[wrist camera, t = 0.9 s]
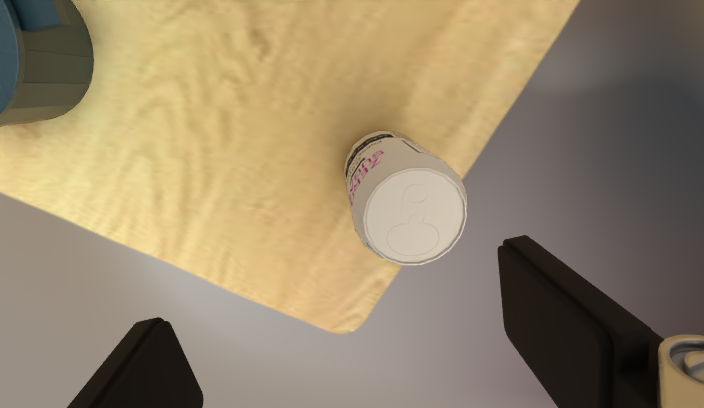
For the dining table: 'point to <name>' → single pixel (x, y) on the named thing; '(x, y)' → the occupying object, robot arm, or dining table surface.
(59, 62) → the pot
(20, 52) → the pot lid
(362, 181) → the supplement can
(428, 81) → the dining table surface
